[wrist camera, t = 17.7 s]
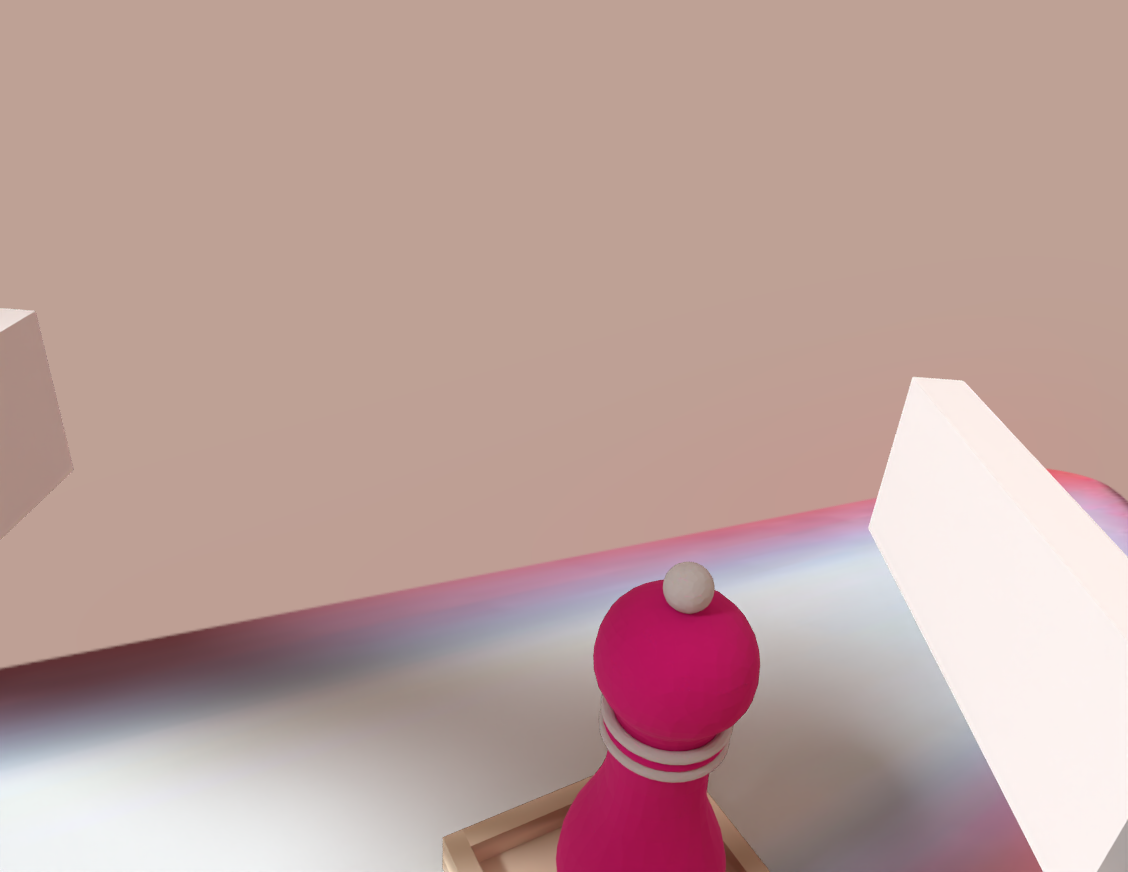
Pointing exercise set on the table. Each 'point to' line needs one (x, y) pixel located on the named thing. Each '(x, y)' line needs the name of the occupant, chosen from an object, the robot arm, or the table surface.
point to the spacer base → (552, 838)
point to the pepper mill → (662, 728)
